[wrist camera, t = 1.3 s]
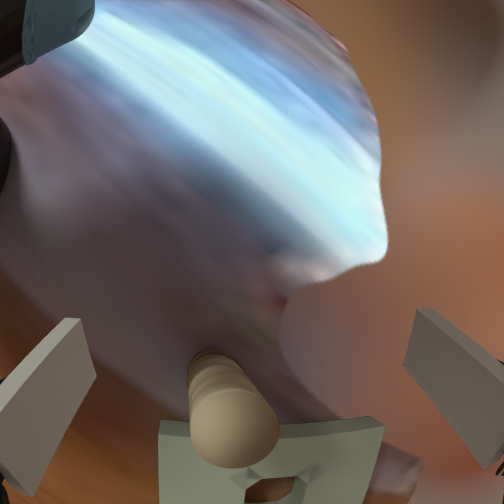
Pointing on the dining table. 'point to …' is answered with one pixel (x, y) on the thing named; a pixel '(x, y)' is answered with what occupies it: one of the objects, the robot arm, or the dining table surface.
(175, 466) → the seat plank
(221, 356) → the peg
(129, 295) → the dining table surface
